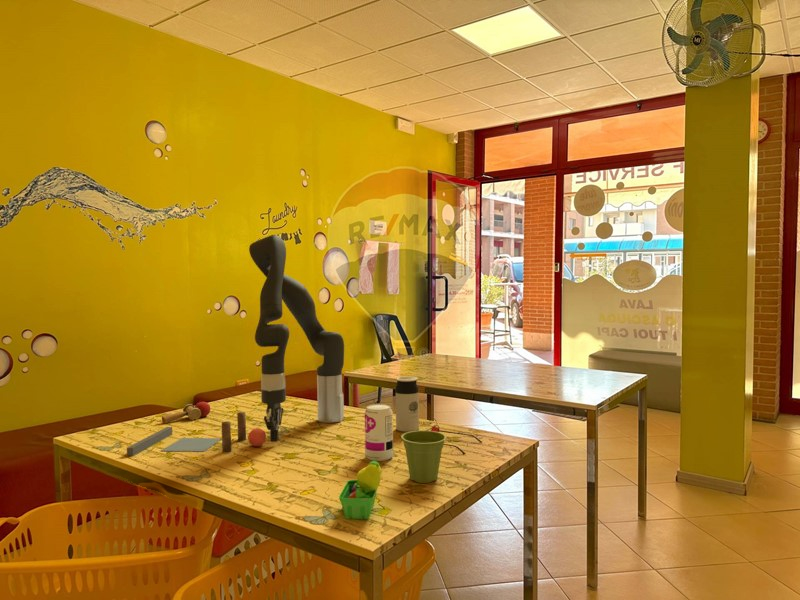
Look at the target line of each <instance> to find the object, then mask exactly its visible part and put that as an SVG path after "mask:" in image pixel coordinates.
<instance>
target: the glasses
mask: <svg viewBox="0 0 800 600" xmlns="http://www.w3.org/2000/svg"><path fill="white" fill-rule="evenodd" d="M425 431H436V432H440V433H447V434H455V435H462V436H469V437H473V438H474V439H475V440H476V441H478V442H479V443H480V442H482V441H481V440H480V439H479V438H477V437H476V436H475V435H473V434H470V433H469V434H468V433H462V432H455V431H447V430H440V426H439V425H433V426H431V427H430V428H429V429H425ZM443 446H448V447H453V448H456V449H457V450H458V451H459V452H461V453H462V455H464V454H466V452H465V451H464V450H462V449H461V448H460V447H458V446H457V445H455V444H448V443H447V444H446V443H444V444H443Z"/></svg>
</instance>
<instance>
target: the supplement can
mask: <svg viewBox="0 0 800 600" xmlns="http://www.w3.org/2000/svg"><path fill="white" fill-rule="evenodd" d="M391 408H392V407H391V406H390V405H389V404H382V403H380V404H379V403H375V404H370V405H367V406H366V408H365V410H364V440H365V442H364V448H365V457H366V458H367V459H368V460H370V461H371V462H372V461H376V462H385V461H388V460H390V459H391V458H393V456H394V420H393V419H394V417H393V415H394V413H393V410H392V409H391Z"/></svg>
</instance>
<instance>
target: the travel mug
mask: <svg viewBox="0 0 800 600" xmlns="http://www.w3.org/2000/svg"><path fill="white" fill-rule="evenodd" d="M395 380H396V386H395V429H396V430H397V431H398V432H401V433H402V432H403V433H407V432H411V431H419V429H420V422H419V421H420V418H419V417H420V412H419V411H420V409H419V408H420V407H419V403H420V401H419V386H418V384H417V382H418V377H416V376H410V375H409V376H398V377H396V379H395Z"/></svg>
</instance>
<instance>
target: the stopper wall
mask: <svg viewBox="0 0 800 600" xmlns="http://www.w3.org/2000/svg"><path fill="white" fill-rule="evenodd" d="M171 435H173V426H166V427H164V428H162V429H160V430H158V431H156V432H154V433H153V434H151V435H149V436H147V437H145V438H143V439H141V440H139V441H137V442H135V443H133V444H131V445H130V446H128V447H126V456H127V457H134V456H135V455H138V454H140V453H141V452H143V451H145V450H147V449H148V447H149V448H150V447H152V446H154V445H156V444H158V443H159V442H161V441H163V440H165V439H166V437H167V438H168V437H170V436H171ZM157 442H158V443H157ZM139 452H140V453H139Z"/></svg>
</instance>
